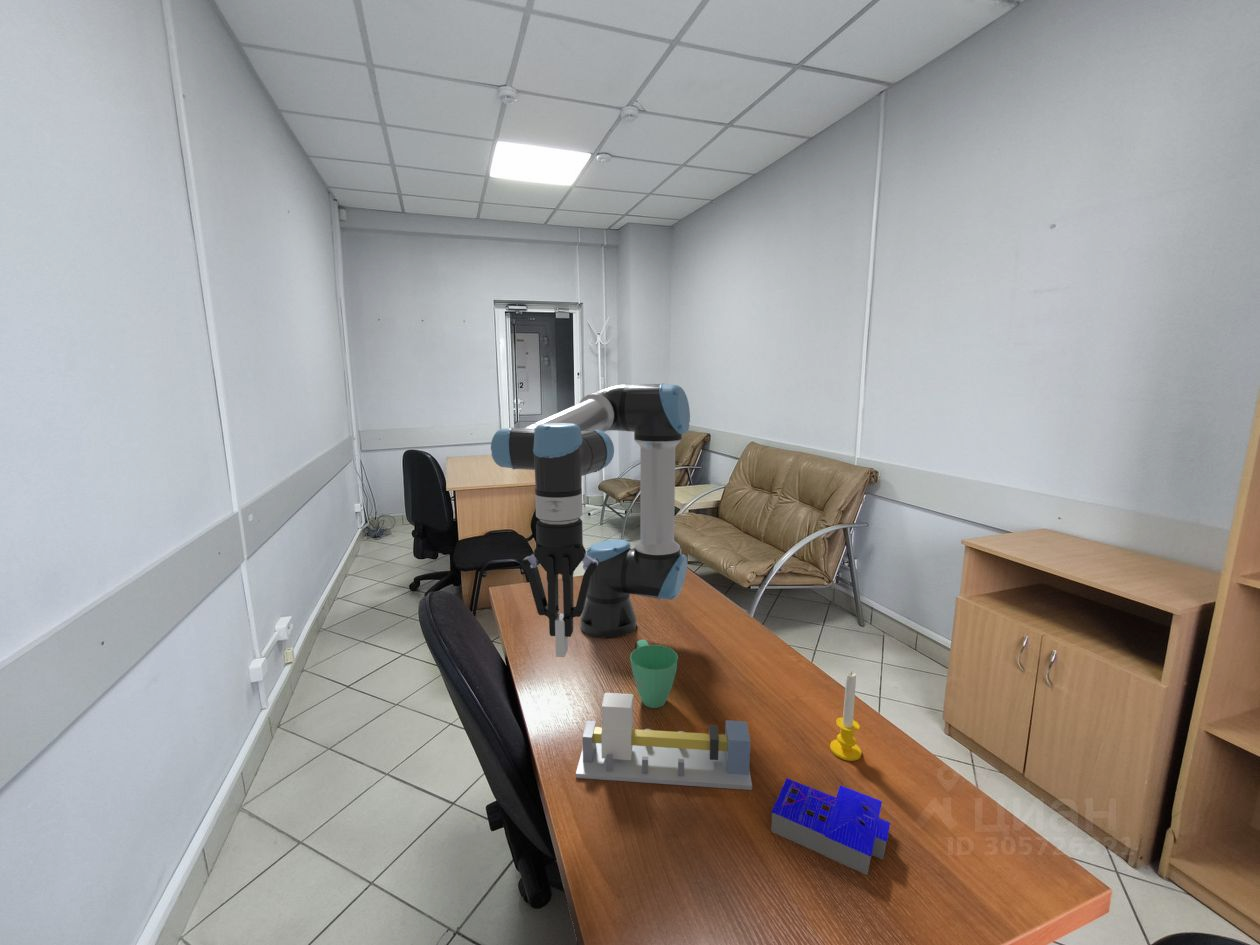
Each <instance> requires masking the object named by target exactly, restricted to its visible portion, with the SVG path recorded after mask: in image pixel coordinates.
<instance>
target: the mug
mask: <svg viewBox="0 0 1260 945" xmlns="http://www.w3.org/2000/svg"><path fill="white" fill-rule="evenodd" d="M629 660H630V665H631V667H630V668H631V671H632V672H631V673H632V676H633V679H634V682H635V687H636V689H637V693H638V695H639V697H640V700H641V702H642V704H643V705H644V706H646V707H647V708H651V709H658V708H659V709H660V708H662V707H663V706H664V705H665V704H666V703H667V700H668V697H669V696H670V694H671V690H672V688H673V684H674V681H675V678H676V673H677V669H678V666H679V665H678V664H679V663H678V662H679V655H678V653H677V652H676V651H675V650H674V649H672V648H671V647H668V646H665V645H661V644H659V645H657V644H650V643H648V641H647V640H646V639H640V640H637V641H636V642H635V645H634V650H633V651H632V652H631V653H630V657H629Z"/></svg>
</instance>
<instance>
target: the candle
mask: <svg viewBox="0 0 1260 945" xmlns="http://www.w3.org/2000/svg"><path fill="white" fill-rule="evenodd" d="M846 674H847V675H846V679H845V687H844V688H845V689H844V701H843V702H844V703H843V711H842V712H843V714H842V716H841V717H838V718H836V721H835V724H836V725H837V726H838V727H839V728H840V731H839V732H840V733H838V734H837V736H836V739H833V740H832V741H831V742H830V745H829V747H830V751H831V753H832V754H833V755H834V756H836V757H837V758H839V759H841V760H844V761H847V762H855V761H858V760H860V759H861V757H862V753H863V752H862V749H861V748H860V746H859V745H858V744H857V739H856V738H855V737H854V735H855V733H854V732H857V731H859V730H860V728H861V726H860V724H859V722H858V721H856V720H854V714H855V712H854V711H855V699H856V698H855V697H856V687H857V686H856V684H857V673H855V672H853V671H851V672H848V673H846Z"/></svg>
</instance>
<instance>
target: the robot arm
mask: <svg viewBox="0 0 1260 945" xmlns="http://www.w3.org/2000/svg"><path fill="white" fill-rule="evenodd" d="M689 404H690V403H689V400H688V397H687V394H686V391H685V390H684V389H683V388H682V387H681V386H680V385H677V384H668V383H650V384H649V383H642V384H641V383H640V384H639V383H634V384H633V383H631V384H630V383H623V384H621V383H619V384H616V385H612V386H611V385H610V386H609V387H605V388H602V389H599V390H597V391H594V392H592V393H589V394H587V395H584V397H582V398H581V399H580V400H579V403H577V404H574V405H571V406H570V407H568V408H566V409H563V410H561V411H558V412H557V413H554V414H552V415H549V416H548V417H545V418H543V419H540V420H539V421H536V422H534V423H532V424H528V425H526V426H524V427H520V428H516V427H515V428H514V427H509V428H508V427H507V428H501V429H498V430H497V431H496V432H495V433H494V434H493V437H492V439H491V442H490V450H491V457H492V459H493V461H494V464H496V465H497V466H499V467H501V468H505V469H506V468H508V469H512V470H528V471H534V480H535V481H534V484H535V489H534V490H535V495H534V496H535V497H534V499H535V517H536V518H537V521H536V522H535V530H536V531H535V533H536V534H535V535H536V538H535V539H536V547H535V549H534V550H533V553H532V554H530V555H527V556H525V557H524V558H523V559H522V561H521V562H520V566H521V568H522V570H524V572H525V573H526V575H527V578H528V582H529V585H530V590H531V593H532V596H533V601H534V605H535V607H536V610H537V613H538V616H545V617H547V618H548V623H549V624H548V625H549V628H548V629H549V636H550V637H554V638H555V657H556V658H565V657H566V655H567V652H568V650H569V648H568V647H569V645H568V644H569V642H568V641H569V640H568V639H569V638H571V637H572V634H573V632H574V618H580V619H579V620H580V622H579V623H580V629H581V631H582V632H584V633H585V634H586V635H589V636H591V637H595V638H599V639H600V638H601V639H615V638H619V637H624V636H626V635H629V634H631V633H632V632H633V631H634V630H635V629H636V628H637V617H636V616H637V615H636V612H635V610H634V607H633V604H632V601H631V596H630V595H633V596H634V595H635V596H641V597H647V598H654V599H657V600H669V601H671V600H675V599H676V598H677V597H678V596H679V595H680V593H681V592H682V589H683V587H684V583H685V580H686V576H687V571H688V557H687V556H686V555H685V554H683V553H681V545H680V544H679V543H678V542H677V541H676V540H675V509H676V508H675V507H676V506H675V505H676V504H675V500H676V499H675V496H676V494H675V493H676V488H675V487H676V486H675V485H676V447H677V445H679V444H680V442H682V438H683V437H682V436H683V435H684V434H686V433H688V431H689V429H690V422H691V413H690V405H689ZM607 431H618V432H619V431H620V432H621V431H622V432H633V433H634V437H633V438H634V439H633V440H634V442H636V443H637V444H638V446H639V447H640V452H639V454H640V460H639V461H640V468H639V469H640V472H639V473H640V479H639V480H640V482H639V483H640V484H639V485H640V492H639V493H640V506H639V507H640V519H639V520H640V521H639V522H640V523H639V524H640V527H639V528H640V530H639V531H640V539H639V540H638V541H637V542H635V544H634V548H631V543H630V542H629V541H628V540H625V539H608V540H607V539H606V540H603V541H599V542H598V541H597V542H596V543H593V544H590V546H589V547H588V548H587V549H586V548H585V547H584V544H583V543H584V542H583V520H582V519H581V517H582V516H583V489H582V488H583V487H582V483H583V478H582V477H583V476H586V475H589V474H593V473H597V472H600V471H601V470H603V469H604V468H606V467H607V466H608V465H610V464H611V462H612V460H613V458H614V455H615V446H614V443H613V440H612V438H611V437H610V436H609V435H608V434H607V433H606V432H607ZM581 562H582V563H583V564H582V569H583V570H584V573H583V576H582V579H581V583H580V588H579V592H578V596H577V599H576V604H575V603H574V572H575V571H576V569H577V568H578V567H579V565H580V564H581ZM539 564H540V566H541V568H543V570H544V571H545V572H546V581H547V596H546V591H545V589H544V586H543V582H542V578H541V574H540V571H539V568H538V565H539ZM559 575H561V580H562V599H563V600H562V604H563V608H562V609H563V613H559V611H560V608H559V607H560V606H559V604H560V603H559ZM574 604H575V606H574ZM568 637H569V638H568Z"/></svg>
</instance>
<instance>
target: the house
mask: <svg viewBox="0 0 1260 945" xmlns="http://www.w3.org/2000/svg"><path fill="white" fill-rule="evenodd" d="M882 803H883V800H879V799H878V798H875V797H872V796H869V795H867V794H864V793H862V792H858V791H856V790H854V789H851V788H848V787H846V786H844V785H843V786H842V785H839V787H838V790H837V794H836V796H833V795H830V794H828V793H826V792H823V791H820V790H818V789H815V788H813V787H810V786H808V785H805V784H803V783H800V782H797V781H796V780H794V779H790V778H787V777H786V778H785V781H784V783H783V785H782V788H781V790H780V791H779V794H778V796H777V799H776V801H775V802H774V805H773V807H772V809H771V812H770V813H771V828H770V829H771V830H770V832H771V833H772V834H773V833H774V834H776V835H778V836H780V837H782V838H785V839H787V840H789V841H792V842H793V843H796V844H798V845H800V846H803V847H805V848H807V849H809V850H812V851H813V852H815V853H817V854H820V855H822V856H824V857H826V858H828V859H830V860H833V861H835V862H836V863H839V864H841V865H843V866H846V867H848V868H851V869H853V870H854V871H857V872H859V873H861V874H864V875H865V876H868V875H869V874H868V873H869V871H870V870H869V869H870V865H871V859H872V856H873V857H875V858H877V859H880V860H881V861H884V859H885V852H886V846H887V843H888V839H889V838H888V837H889V832H890V826H891V822H889V821H887V820H886V819H883V818H880V815H881V814H880V813H881V810H882Z"/></svg>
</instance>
